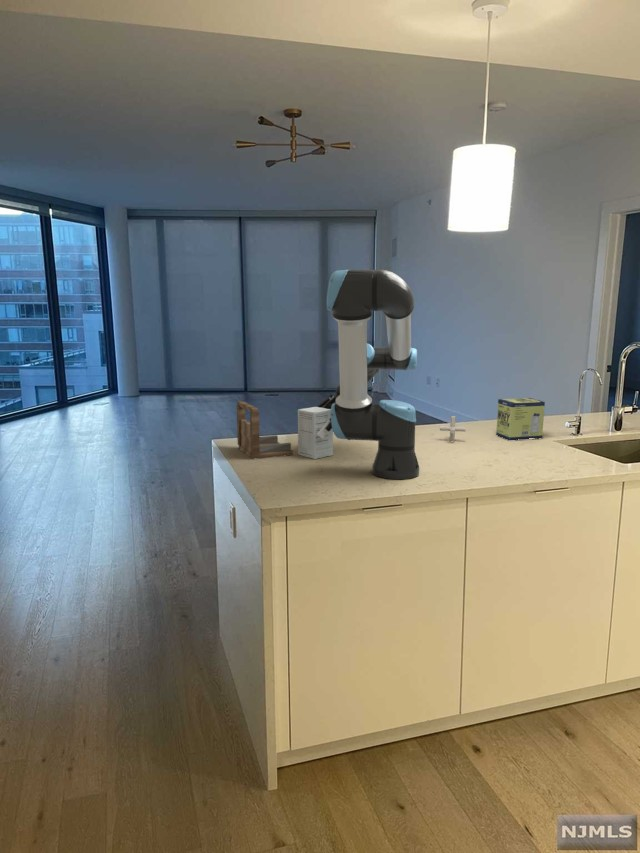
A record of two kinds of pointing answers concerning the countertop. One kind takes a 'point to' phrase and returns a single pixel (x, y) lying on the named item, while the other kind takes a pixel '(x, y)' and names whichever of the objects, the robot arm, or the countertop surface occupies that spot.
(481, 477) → the countertop surface
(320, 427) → the supplement box
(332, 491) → the countertop surface
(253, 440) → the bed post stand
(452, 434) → the pipe connector
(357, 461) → the countertop surface
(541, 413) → the protein box
